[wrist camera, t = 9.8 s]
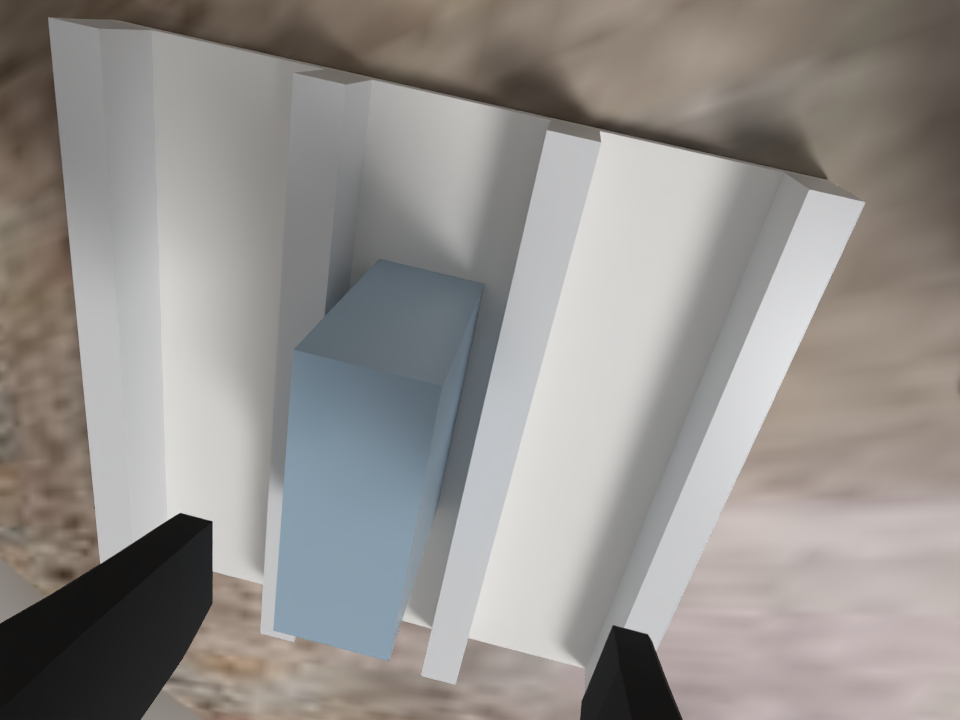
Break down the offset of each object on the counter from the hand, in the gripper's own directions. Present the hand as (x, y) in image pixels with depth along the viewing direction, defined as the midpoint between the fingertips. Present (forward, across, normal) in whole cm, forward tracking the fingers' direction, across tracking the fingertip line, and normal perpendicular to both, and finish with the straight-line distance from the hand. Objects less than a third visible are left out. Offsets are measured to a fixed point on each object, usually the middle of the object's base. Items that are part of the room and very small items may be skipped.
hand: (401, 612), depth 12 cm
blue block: (+9, +2, +1) cm, 9 cm away
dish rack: (+9, +2, +2) cm, 10 cm away
